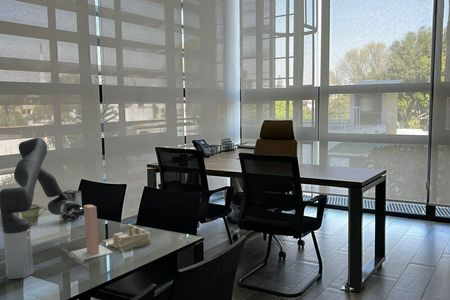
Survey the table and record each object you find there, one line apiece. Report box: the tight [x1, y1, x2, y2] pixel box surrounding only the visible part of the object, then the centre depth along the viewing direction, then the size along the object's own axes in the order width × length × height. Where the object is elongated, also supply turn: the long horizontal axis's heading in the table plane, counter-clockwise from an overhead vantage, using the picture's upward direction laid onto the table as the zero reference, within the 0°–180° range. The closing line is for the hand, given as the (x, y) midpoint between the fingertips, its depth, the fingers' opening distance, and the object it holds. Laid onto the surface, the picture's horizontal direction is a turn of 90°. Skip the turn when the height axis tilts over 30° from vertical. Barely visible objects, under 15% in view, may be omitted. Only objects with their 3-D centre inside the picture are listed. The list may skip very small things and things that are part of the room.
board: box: [83, 204, 100, 255], centre depth 181 cm, size 6×3×20 cm, turn 39°
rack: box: [102, 223, 151, 251], centre depth 196 cm, size 20×14×6 cm
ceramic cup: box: [20, 203, 46, 226], centre depth 240 cm, size 13×10×10 cm
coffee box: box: [62, 189, 83, 221], centre depth 248 cm, size 9×6×16 cm
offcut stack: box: [112, 232, 128, 248], centre depth 191 cm, size 8×4×4 cm, turn 39°
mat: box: [70, 244, 113, 264], centre depth 183 cm, size 14×13×2 cm
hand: (84, 216), depth 187 cm, fingers open, 8 cm apart
